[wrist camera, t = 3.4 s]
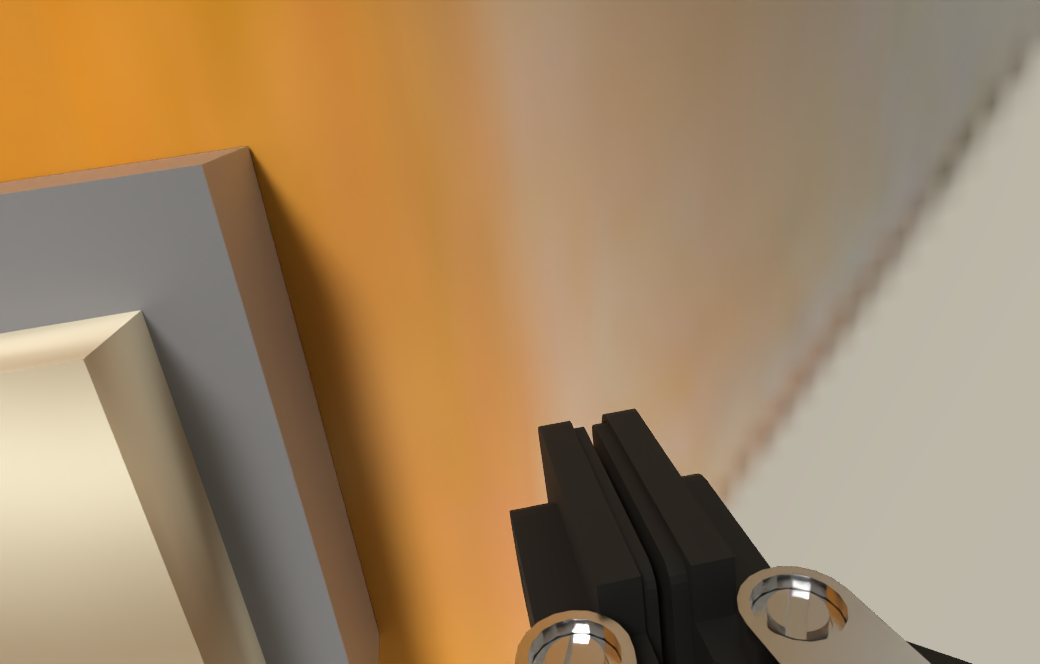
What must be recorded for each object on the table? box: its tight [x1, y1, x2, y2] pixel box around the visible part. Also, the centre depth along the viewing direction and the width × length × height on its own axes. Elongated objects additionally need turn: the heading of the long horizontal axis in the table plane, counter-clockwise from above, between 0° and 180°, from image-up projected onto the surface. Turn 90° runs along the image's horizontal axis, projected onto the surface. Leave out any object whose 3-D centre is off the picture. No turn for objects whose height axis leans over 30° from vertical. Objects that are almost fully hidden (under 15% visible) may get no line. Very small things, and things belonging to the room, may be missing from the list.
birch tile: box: [0, 310, 266, 664], centre depth 11 cm, size 8×6×2 cm
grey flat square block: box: [0, 146, 380, 664], centre depth 13 cm, size 12×11×3 cm
